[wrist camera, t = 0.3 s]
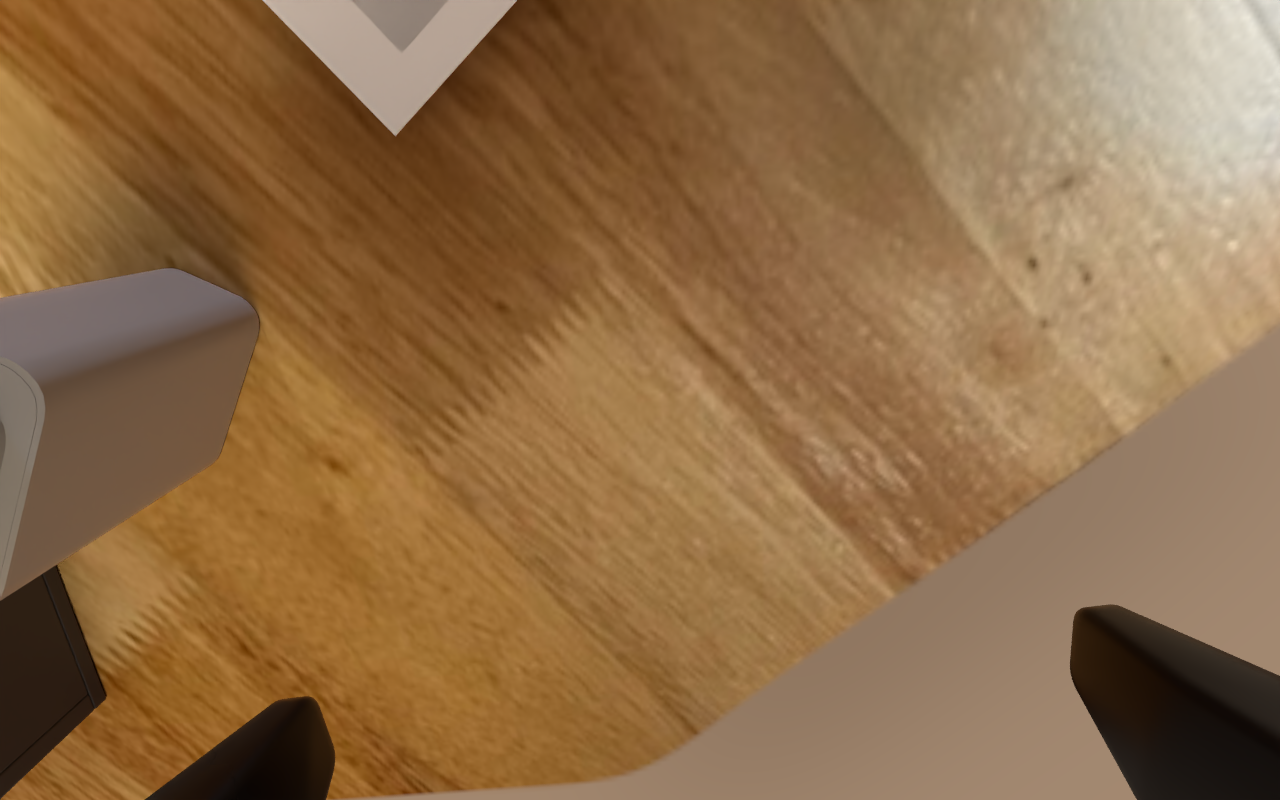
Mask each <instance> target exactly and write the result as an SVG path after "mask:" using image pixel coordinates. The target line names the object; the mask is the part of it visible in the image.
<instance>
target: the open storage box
mask: <svg viewBox="0 0 1280 800" xmlns="http://www.w3.org/2000/svg"><path fill="white" fill-rule="evenodd" d="M105 699H106V697H105V694H104V692H103V689H102V686H101V684H100V681H99V679H98V676H97V673H96V671H95V668H94V665H93V663H92V660H91V658H90V655H89V652H88V650H87V647H86V645H85V642H84V639H83V637H82V634H81V632H80V629H79V626H78V624H77V621H76V619H75V616H74V613H73V611H72V608H71V605H70V603H69V600H68V598H67V595H66V592H65V590H64V587H63V585H62V582H61V579H60V577H59V574H58V572H57V569H56V566H54V567H52V568H51V569H49V570H47V571H46V572H44V573H43V574H41V575H40V576H38V577H37V578H35V579H33V580H32V581H30V582H29V583H27V584H26V585H24V586H23V587H21V588H19V589H18V590H16V591H15V592H13V593H12V594H10V595H9V596H7V597H6V598H4V599H2V600H1V601H0V799H1V798H2V797H3V796H4V795H5V794H6V793H7V792H8V791H9V790H10V789H11V788H12V787H13V786H14V785H15V784H16V783H17V782H18V781H20V780H21V779H22V778H23V777H24V776H25V775H26V774H27V773H28V772H29V771H30V770H31V769H32V768H33V767H34V766H35V765H36V764H37V763H39V762H40V761H41V760H42V759H43V758H44V757H45V756H46V755H47V754H48V753H49V752H50V751H51V750H52V749H53V748H54V747H55V746H56V745H58V744H59V743H60V742H61V741H62V740H63V739H64V738H65V737H66V736H67V735H68V734H69V733H70V732H71V731H72V730H73V729H74V728H75V727H76V726H78V725H79V724H80V723H81V722H82V721H83V720H84V719H85V718H86V717H87V716H88V715H89V714H90V713H91V712H92V711H93V710H94V709H95V708H97V707H98V706H99V705H100V704H101V703H102V702H103V701H104V700H105Z"/></svg>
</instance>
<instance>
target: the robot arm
mask: <svg viewBox="0 0 1280 800" xmlns="http://www.w3.org/2000/svg"><path fill="white" fill-rule="evenodd" d="M1070 658H1071V659H1070V670H1071V676H1072V680H1073V683H1074V685H1075V688H1076V689H1077V691H1078V693H1079V695H1080V697H1081V699H1082V701H1083V702H1084V704H1085V706H1086V708H1087V710H1088V712H1089V713H1090V715H1091V717H1092V719H1093V721H1094V722H1095V724H1096V726H1097V728H1098V730H1099V732H1100V733H1101V735H1102V737H1103V739H1104V741H1105V742H1106V744H1107V746H1108V748H1109V750H1110V752H1111V753H1112V755H1113V757H1114V759H1115V761H1116V762H1117V764H1118V766H1119V768H1120V770H1121V772H1122V774H1123V775H1124V777H1125V779H1126V781H1127V782H1128V784H1129V786H1130V788H1131V790H1132V792H1133V794H1134V795H1135V797H1136V799H1137V800H1280V676H1279V675H1276V674H1274V673H1272V672H1269V671H1267V670H1265V669H1262V668H1260V667H1258V666H1256V665H1253V664H1251V663H1249V662H1246V661H1244V660H1242V659H1240V658H1237V657H1235V656H1233V655H1230V654H1228V653H1226V652H1224V651H1221V650H1219V649H1217V648H1215V647H1212V646H1210V645H1208V644H1205V643H1203V642H1201V641H1199V640H1196V639H1194V638H1192V637H1189V636H1187V635H1185V634H1183V633H1180V632H1178V631H1176V630H1174V629H1171V628H1169V627H1167V626H1164V625H1162V624H1160V623H1158V622H1155V621H1153V620H1151V619H1148V618H1146V617H1144V616H1142V615H1139V614H1137V613H1135V612H1132V611H1130V610H1128V609H1125V608H1123V607H1120V606H1118V605H1102V606H1094V607H1085V608H1081V609H1080V610H1078V611H1077V612H1076V614H1075V616H1074V621H1073V633H1072V646H1071V657H1070ZM334 766H335V751H334V746H333V743H332V740H331V737H330V735H329V732H328V729H327V726H326V724H325V721H324V718H323V715H322V712H321V710H320V707H319V705H318V703H317V701H316V700H315V699H314V698H312V697H308V696H305V697H296V698H287V699H281V700H278V701H276V702H274V703H273V704H271V705H270V706H269V707H267V708H266V709H265V710H263V711H262V712H261V713H259V714H258V715H257V716H255V717H254V718H253V719H251V720H250V721H249V722H247V723H246V724H245V725H243V726H242V727H241V728H239V729H238V730H237V731H235V732H234V733H233V734H231V735H230V736H229V737H227V738H226V739H225V740H223V741H222V742H221V743H219V744H218V745H217V746H215V747H214V748H213V749H212V750H210V751H209V752H208V753H206V754H205V755H204V756H202V757H201V758H200V759H198V760H197V761H196V762H194V763H193V764H192V765H190V766H189V767H188V768H186V769H185V770H184V771H182V772H181V773H180V774H178V775H177V776H176V777H174V778H173V779H172V780H170V781H169V782H168V783H166V784H165V785H164V786H162V787H161V788H160V789H158V790H157V791H156V792H154V793H153V794H152V795H150V796H149V797H148V798H146V799H145V800H326V797H327V793H328V790H329V786H330V782H331V779H332V775H333V771H334Z"/></svg>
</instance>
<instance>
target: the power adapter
mask: <svg viewBox="0 0 1280 800" xmlns="http://www.w3.org/2000/svg"><path fill="white" fill-rule="evenodd" d="M258 333H259V319H258V316H257V313H256V312H255V310H254V309H253V307H252V306H251V305H250V304H249V303H248V302H247V301H246V300H245V299H243V298H242V297H240V296H238V295H236V294H234V293H231V292H229V291H227V290H225V289H222V288H220V287H218V286H216V285H213V284H211V283H209V282H207V281H204V280H202V279H200V278H198V277H195V276H193V275H191V274H189V273H186V272H184V271H182V270H179V269H175V268H165V269H159V270H153V271H147V272H142V273H136V274H131V275H125V276H120V277H114V278H108V279H103V280H97V281H92V282H86V283H81V284H75V285H69V286H64V287H58V288H53V289H47V290H42V291H36V292H30V293H25V294H19V295H14V296H8V297H3V298H0V601H1V600H2V599H4V598H6V597H7V596H9V595H10V594H12V593H13V592H15V591H16V590H18V589H19V588H21V587H23V586H24V585H26V584H27V583H29V582H30V581H32V580H33V579H35V578H37V577H38V576H40V575H41V574H43V573H44V572H46V571H47V570H49V569H51V568H52V567H54V566H55V565H57V564H58V563H60V562H61V561H63V560H64V559H66V558H68V557H69V556H71V555H72V554H74V553H75V552H77V551H78V550H80V549H82V548H83V547H85V546H86V545H88V544H89V543H91V542H92V541H94V540H96V539H97V538H99V537H100V536H102V535H103V534H105V533H106V532H108V531H109V530H111V529H113V528H114V527H116V526H117V525H119V524H120V523H122V522H123V521H125V520H127V519H128V518H130V517H131V516H133V515H134V514H136V513H137V512H139V511H141V510H142V509H144V508H145V507H147V506H148V505H150V504H151V503H153V502H154V501H156V500H158V499H159V498H161V497H162V496H164V495H165V494H167V493H168V492H170V491H172V490H173V489H175V488H176V487H178V486H179V485H181V484H182V483H184V482H185V481H187V480H189V479H190V478H192V477H193V476H195V475H196V474H198V473H199V472H201V471H203V470H204V469H206V468H207V467H209V466H210V465H212V464H213V463H214V462H215V461H216V460H217V459H218V457H219V455H220V453H221V450H222V447H223V444H224V440H225V437H226V434H227V431H228V428H229V425H230V422H231V419H232V415H233V412H234V409H235V406H236V403H237V400H238V397H239V393H240V390H241V387H242V384H243V381H244V378H245V375H246V372H247V368H248V365H249V362H250V359H251V356H252V353H253V350H254V347H255V343H256V340H257V337H258Z"/></svg>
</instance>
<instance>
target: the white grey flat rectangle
mask: <svg viewBox="0 0 1280 800" xmlns="http://www.w3.org/2000/svg"><path fill="white" fill-rule="evenodd" d="M263 1H264V2H265V3H266V4H267V5H268V6H269V7H270V8H271V9H272V10H273V11H274V12H275V13H276V15H277V16H278V17H279V18H280V19H281V20H282V21H283V22H284V23H285V24H286V25H287V26H288V27H289V28H290V29H291V30H292V31H293V32H294V33H295V34H296V35H297V36H298V37H299V38H300V39H301V40H302V41H303V42H304V43H305V44H306V45H307V46H308V47H309V48H310V49H311V50H312V51H313V52H314V53H315V54H316V55H317V56H318V58H319V59H320V60H321V61H322V62H323V63H324V64H325V65H326V66H327V67H328V68H329V69H330V70H331V71H332V72H333V73H334V74H335V75H336V76H337V77H338V78H339V79H340V80H341V81H342V82H343V83H344V84H345V85H346V86H347V87H348V88H349V89H350V90H351V91H352V92H353V93H354V94H355V95H356V96H357V97H358V98H359V99H360V100H361V102H362V103H363V104H364V105H365V106H366V107H367V108H368V109H369V110H370V111H371V112H372V113H373V114H374V115H375V116H376V117H377V118H378V119H379V120H380V121H381V122H382V123H383V124H384V125H385V126H386V127H387V128H388V129H389V130H390V131H391V132H392V133H393V134H394V135H395V136H396V135H397V134H398V133H399V132H400V131H401V130H402V128H403V127H404V126H405V125H406V124H407V123H408V122H409V121H410V120H411V118H412V117H413V116H414V115H415V114H416V113H417V112H418V111H419V109H420V108H421V107H422V106H423V105H424V104H425V103H426V102H427V101H428V99H429V98H430V97H431V96H432V95H433V94H434V93H435V92H436V90H437V89H438V88H439V87H440V86H441V85H442V84H443V83H444V82H445V80H446V79H447V78H448V77H449V76H450V75H451V74H452V73H453V72H454V70H455V69H456V68H457V67H458V66H459V65H460V64H461V63H462V61H463V60H464V59H465V58H466V57H467V56H468V55H469V54H470V53H471V51H472V50H473V49H474V48H475V47H476V46H477V45H478V44H479V43H480V41H481V40H482V39H483V38H484V37H485V36H486V35H487V34H488V32H489V31H490V30H491V29H492V28H493V27H494V26H495V25H496V24H497V22H498V21H499V20H500V19H501V18H502V17H503V16H504V15H505V14H506V12H507V11H508V10H509V9H510V8H511V7H512V6H513V5H514V3H515V2H516V1H517V0H263Z"/></svg>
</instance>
